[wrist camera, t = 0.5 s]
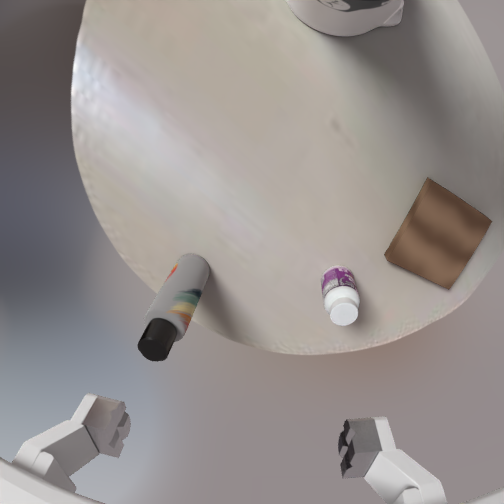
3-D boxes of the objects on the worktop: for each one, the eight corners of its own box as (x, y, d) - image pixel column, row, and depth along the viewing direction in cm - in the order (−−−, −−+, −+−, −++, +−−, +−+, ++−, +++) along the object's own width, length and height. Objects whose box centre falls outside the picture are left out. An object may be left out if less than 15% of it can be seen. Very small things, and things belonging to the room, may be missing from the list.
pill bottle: (359, 276, 51) (371, 313, 42) (336, 297, 53) (343, 335, 44) (336, 257, 49) (345, 292, 41) (313, 279, 52) (317, 317, 43)
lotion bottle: (173, 275, 54) (127, 357, 36) (182, 247, 52) (132, 327, 34) (204, 287, 55) (169, 375, 37) (214, 260, 52) (178, 347, 34)
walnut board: (427, 177, 42) (432, 181, 40) (486, 216, 43) (492, 221, 41) (384, 254, 48) (387, 260, 47) (444, 283, 49) (449, 289, 48)
